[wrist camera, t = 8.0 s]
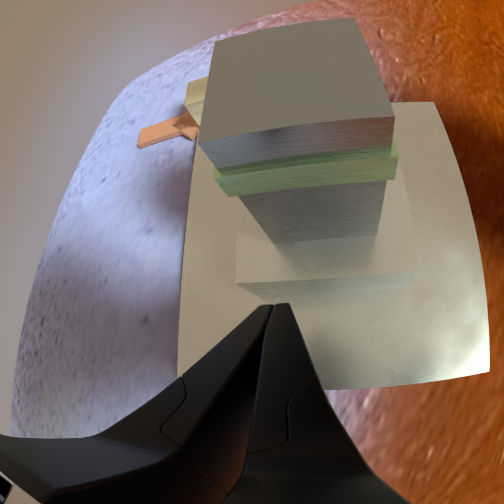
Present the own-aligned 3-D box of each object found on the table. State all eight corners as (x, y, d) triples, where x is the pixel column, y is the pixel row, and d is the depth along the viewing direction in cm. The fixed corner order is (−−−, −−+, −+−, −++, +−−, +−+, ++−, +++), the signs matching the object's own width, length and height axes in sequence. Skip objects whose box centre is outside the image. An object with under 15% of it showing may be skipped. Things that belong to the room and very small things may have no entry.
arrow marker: (139, 157, 22) (135, 154, 21) (145, 124, 23) (142, 121, 22) (214, 134, 20) (212, 130, 20) (216, 101, 21) (214, 97, 21)
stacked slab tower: (481, 370, 11) (637, 378, 1) (186, 380, 16) (9, 388, 6) (431, 111, 16) (448, -34, 6) (204, 138, 21) (117, 23, 11)
